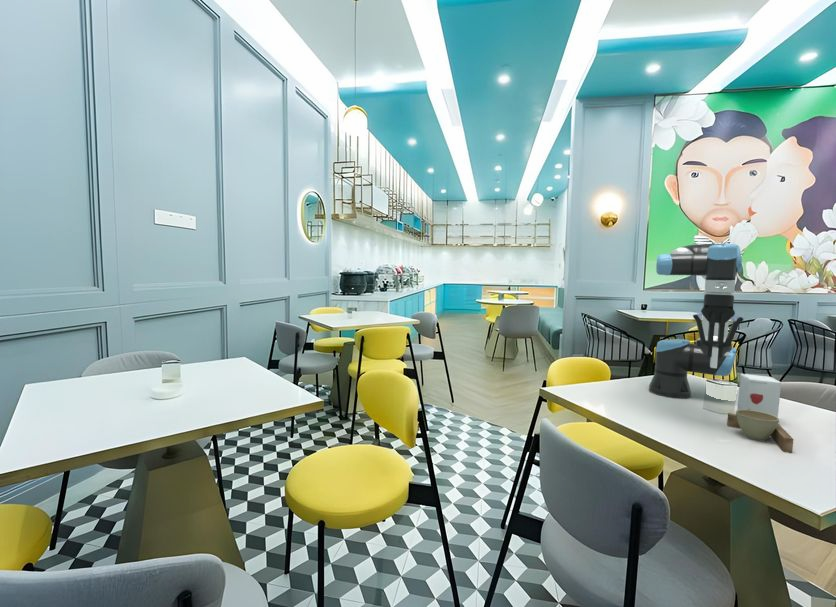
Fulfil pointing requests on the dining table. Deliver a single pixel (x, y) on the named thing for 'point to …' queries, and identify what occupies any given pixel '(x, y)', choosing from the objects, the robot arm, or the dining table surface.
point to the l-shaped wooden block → (778, 435)
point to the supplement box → (759, 394)
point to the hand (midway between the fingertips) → (713, 367)
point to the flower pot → (756, 424)
